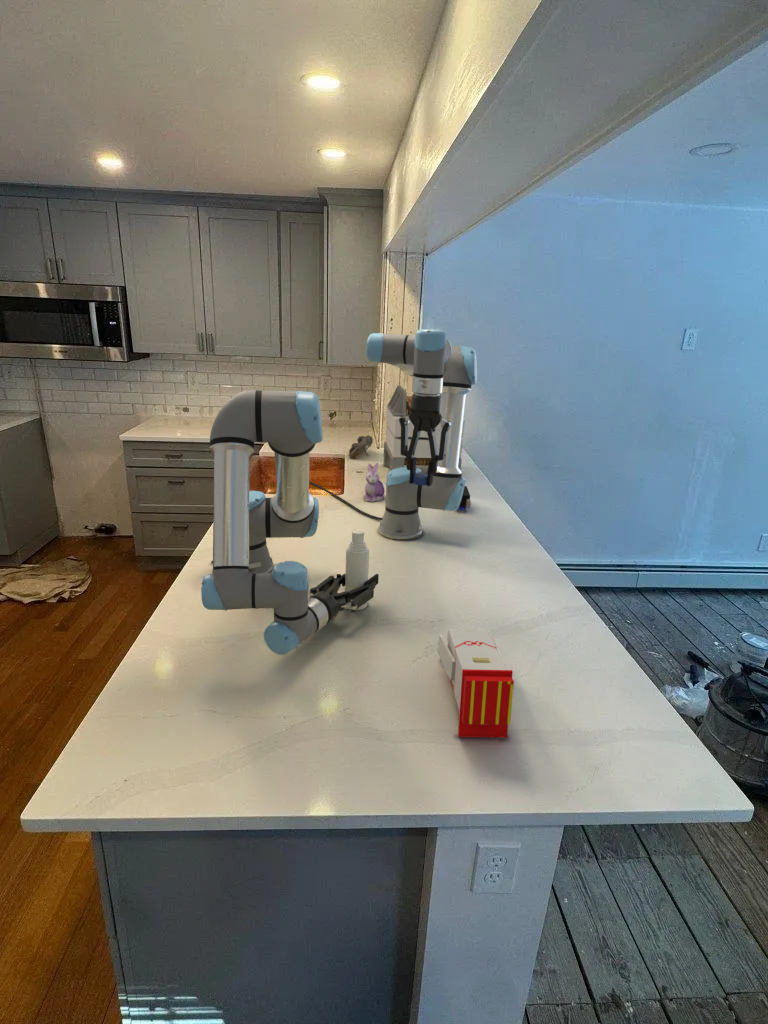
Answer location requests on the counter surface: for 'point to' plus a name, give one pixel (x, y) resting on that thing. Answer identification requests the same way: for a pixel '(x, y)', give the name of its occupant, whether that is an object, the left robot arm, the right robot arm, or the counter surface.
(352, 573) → the bottle
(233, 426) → the left robot arm
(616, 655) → the counter surface
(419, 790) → the counter surface
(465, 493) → the figurine character
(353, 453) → the fossil
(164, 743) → the counter surface
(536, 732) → the counter surface
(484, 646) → the toy
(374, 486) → the figurine
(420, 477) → the cap
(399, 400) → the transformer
